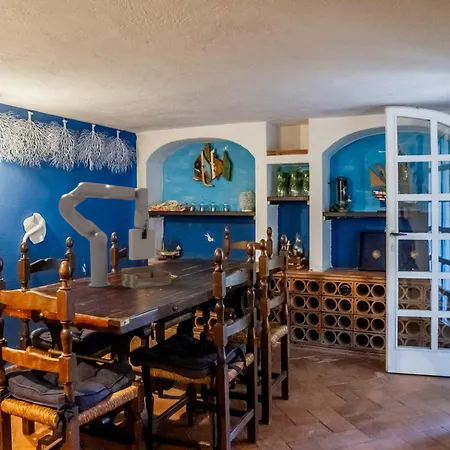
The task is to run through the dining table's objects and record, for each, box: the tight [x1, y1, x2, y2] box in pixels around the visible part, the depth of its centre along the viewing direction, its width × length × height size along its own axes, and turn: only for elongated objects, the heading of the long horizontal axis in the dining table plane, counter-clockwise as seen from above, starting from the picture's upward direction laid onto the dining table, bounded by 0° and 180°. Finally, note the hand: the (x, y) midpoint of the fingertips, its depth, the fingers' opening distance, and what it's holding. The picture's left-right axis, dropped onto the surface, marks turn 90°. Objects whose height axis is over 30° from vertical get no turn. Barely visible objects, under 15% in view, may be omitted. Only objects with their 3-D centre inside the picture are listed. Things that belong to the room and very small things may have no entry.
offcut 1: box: [135, 272, 151, 280], centre depth 290 cm, size 4×8×8 cm, turn 132°
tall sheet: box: [128, 228, 156, 260], centre depth 298 cm, size 4×16×18 cm, turn 132°
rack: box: [120, 264, 172, 290], centre depth 296 cm, size 17×24×10 cm
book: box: [125, 243, 149, 268], centre depth 313 cm, size 22×7×25 cm, turn 168°
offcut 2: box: [150, 270, 166, 278], centre depth 297 cm, size 4×8×8 cm, turn 132°
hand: (142, 238), depth 298 cm, fingers closed on tall sheet, 4 cm apart
